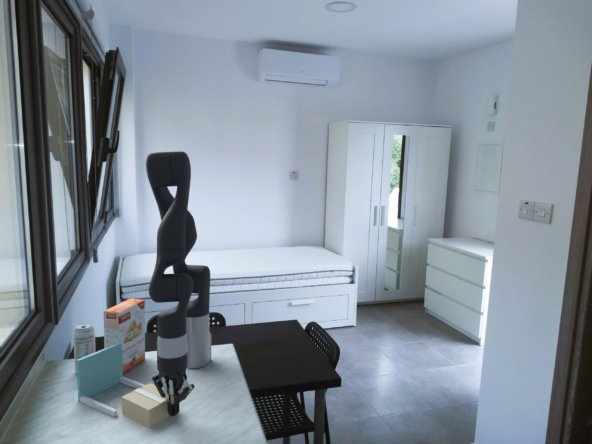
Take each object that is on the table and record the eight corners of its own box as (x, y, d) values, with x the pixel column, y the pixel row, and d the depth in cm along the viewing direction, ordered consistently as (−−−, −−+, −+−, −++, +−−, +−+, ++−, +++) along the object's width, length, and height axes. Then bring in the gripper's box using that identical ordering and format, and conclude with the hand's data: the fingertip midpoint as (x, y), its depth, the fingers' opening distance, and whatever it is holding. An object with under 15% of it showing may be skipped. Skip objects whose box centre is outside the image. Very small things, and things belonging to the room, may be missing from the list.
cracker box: (121, 377, 134) (119, 312, 131) (104, 375, 135) (101, 310, 132) (146, 358, 147) (145, 299, 145) (131, 356, 149) (129, 297, 146)
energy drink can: (97, 366, 141) (96, 321, 139) (94, 374, 135) (92, 328, 133) (77, 368, 139) (75, 323, 137) (73, 376, 133) (71, 330, 132)
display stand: (120, 380, 132) (119, 342, 131) (155, 393, 125) (154, 353, 123) (78, 401, 120) (76, 359, 118) (114, 417, 113) (112, 373, 111)
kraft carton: (150, 399, 122) (149, 382, 121) (177, 412, 116) (176, 394, 116) (122, 414, 115) (121, 396, 114) (149, 428, 109) (148, 409, 108)
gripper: (202, 351, 110) (202, 414, 112) (164, 340, 116) (165, 400, 118) (181, 362, 103) (182, 429, 105) (142, 350, 110) (144, 414, 112)
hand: (173, 414), depth 112 cm, fingers closed
